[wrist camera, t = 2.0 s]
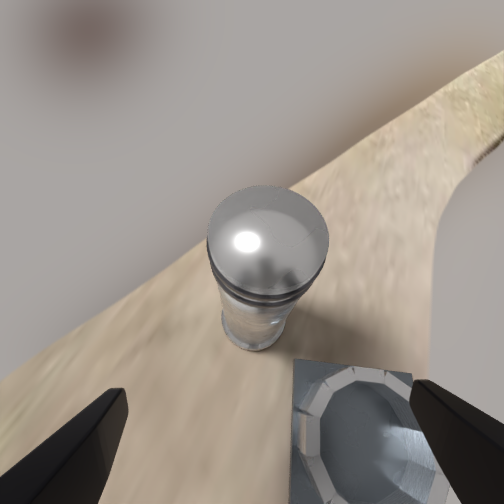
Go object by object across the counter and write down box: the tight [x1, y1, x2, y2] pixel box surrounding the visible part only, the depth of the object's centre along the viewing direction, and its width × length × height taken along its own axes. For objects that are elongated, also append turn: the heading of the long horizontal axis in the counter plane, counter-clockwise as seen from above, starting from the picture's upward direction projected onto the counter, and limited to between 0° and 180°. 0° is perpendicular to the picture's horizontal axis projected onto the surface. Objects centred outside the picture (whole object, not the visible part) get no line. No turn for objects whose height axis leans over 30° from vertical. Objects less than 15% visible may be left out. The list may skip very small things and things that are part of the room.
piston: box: [207, 186, 329, 351], centre depth 15 cm, size 5×5×13 cm
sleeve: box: [289, 359, 450, 504], centre depth 16 cm, size 9×9×3 cm
